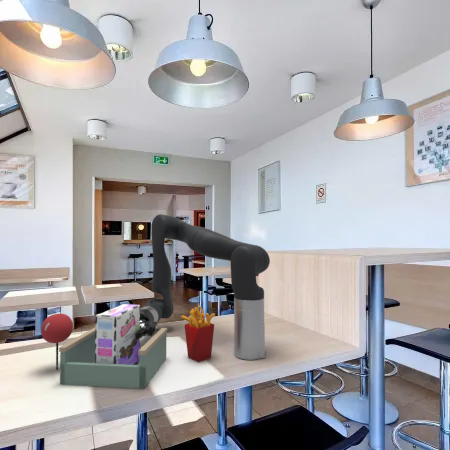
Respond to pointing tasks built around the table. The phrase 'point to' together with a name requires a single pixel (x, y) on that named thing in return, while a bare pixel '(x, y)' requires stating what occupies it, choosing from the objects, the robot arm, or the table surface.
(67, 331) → the lollipop
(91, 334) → the low partition wall
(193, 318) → the french fries
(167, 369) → the table surface
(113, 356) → the candy box
